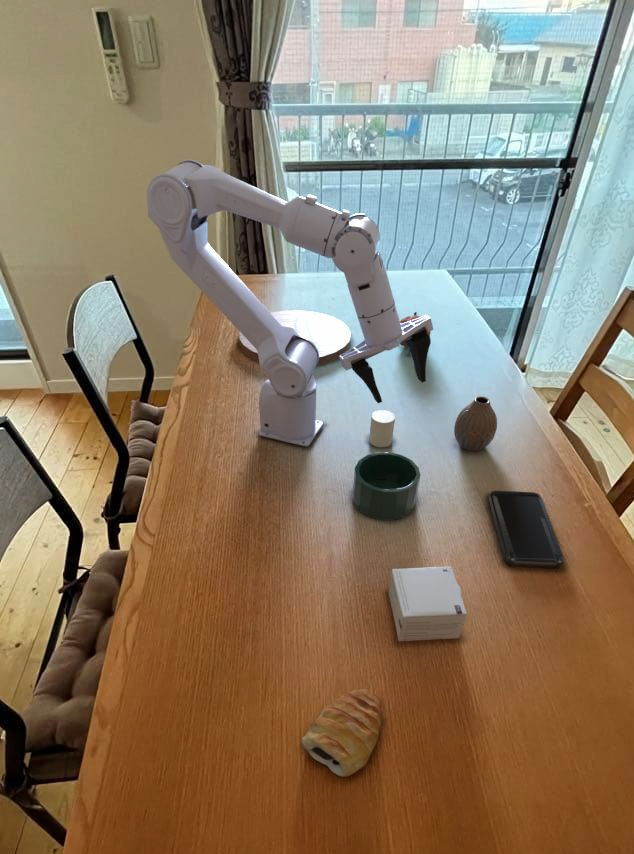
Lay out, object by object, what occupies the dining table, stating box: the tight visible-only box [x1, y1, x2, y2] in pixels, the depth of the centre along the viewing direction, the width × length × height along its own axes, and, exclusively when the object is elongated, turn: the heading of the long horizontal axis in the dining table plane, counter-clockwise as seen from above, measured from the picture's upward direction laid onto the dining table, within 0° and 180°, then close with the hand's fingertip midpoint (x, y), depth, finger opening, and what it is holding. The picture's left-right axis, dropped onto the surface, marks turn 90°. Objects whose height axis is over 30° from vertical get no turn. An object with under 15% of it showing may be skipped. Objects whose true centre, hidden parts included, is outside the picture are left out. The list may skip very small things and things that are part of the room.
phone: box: [488, 490, 565, 569], centre depth 81 cm, size 8×1×15 cm
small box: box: [388, 566, 468, 642], centre depth 68 cm, size 8×8×5 cm
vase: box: [453, 396, 498, 452], centre depth 94 cm, size 7×7×9 cm
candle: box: [368, 409, 396, 448], centre depth 96 cm, size 4×4×5 cm
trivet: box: [238, 309, 352, 367], centre depth 124 cm, size 25×25×2 cm
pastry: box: [301, 688, 384, 778], centre depth 58 cm, size 9×7×4 cm
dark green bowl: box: [352, 451, 421, 521], centre depth 84 cm, size 10×10×6 cm
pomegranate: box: [400, 311, 431, 356], centre depth 121 cm, size 7×7×10 cm
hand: (400, 390), depth 89 cm, fingers open, 7 cm apart
